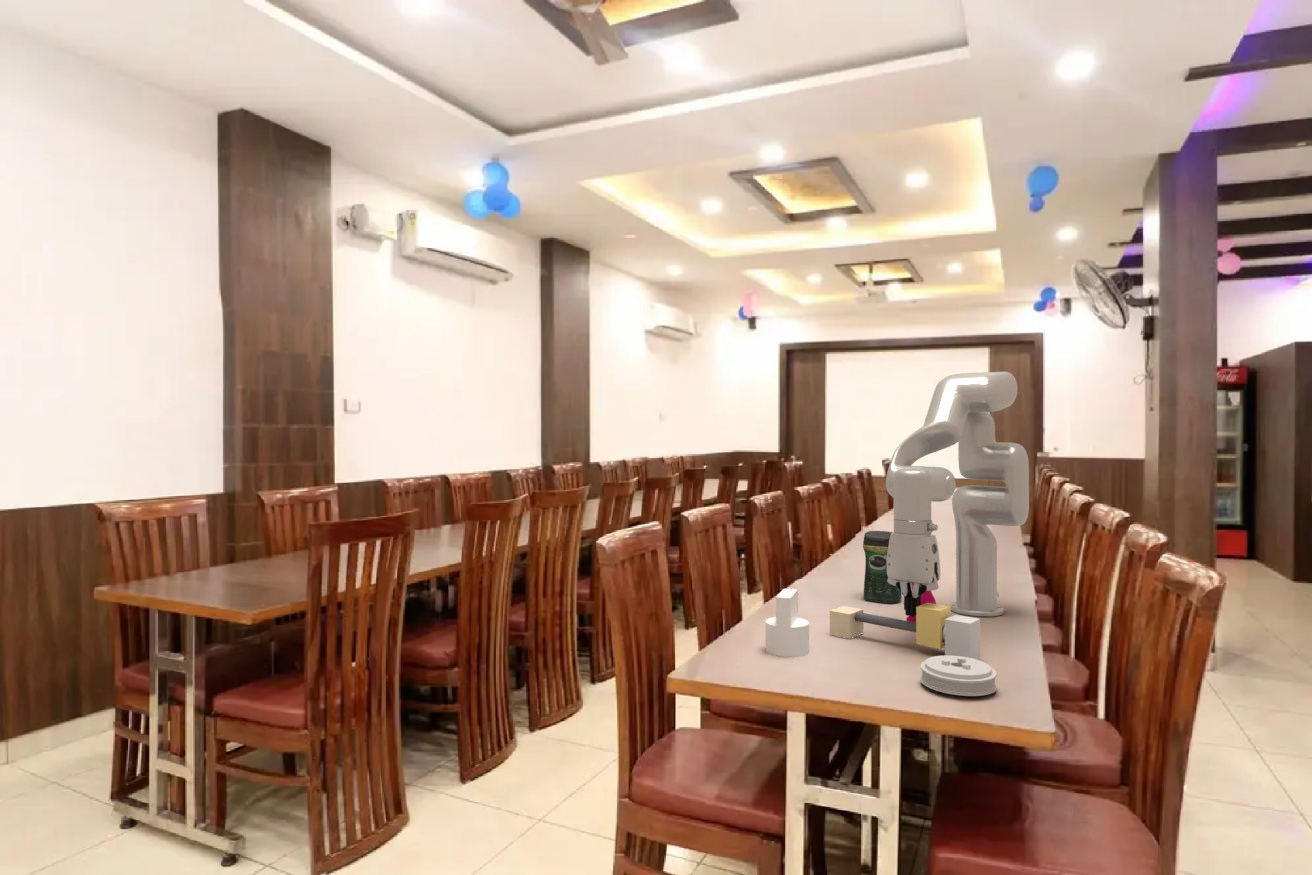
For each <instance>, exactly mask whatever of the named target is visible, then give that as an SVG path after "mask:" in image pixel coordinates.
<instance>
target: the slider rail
mask: <svg viewBox="0 0 1312 875" xmlns="http://www.w3.org/2000/svg"><path fill="white" fill-rule="evenodd" d="M864 623H865V624H871V625H875V626H881V627H885V628H889V629H890V628H891V629H897V630H902V631H905V632H906V631H907V632H911V633H916V623H915V622H909V621H907V620H903V619H898V618H893V617H887V616H882V615H876V614H870V613H865V612H864V609H862V608H859V607H858V608H857V607H852V606H845V605H842V606H839V607H837V608H833V609H830V610H829V635H830V634H831V635H830V636H832V635H835V636H834V637H837V636H839V637H838V638H841V637H845V638H844V639H846V638H849V639H848V640H851V639H850V638H852V637H854V638H857V637H858V636H857V635H859V634H861V633H863V634H864ZM856 636H857V637H856ZM859 636H860V635H859ZM942 638H943V640H944V641H945V646H944V655H949V656H962V657H968V658H973V659H976V660H980V659H981V619H980V618H979V617H978V618H977V617H971V616H967V615H965V616H964V615H959V614H954V615H952V616H951V617H949V618H947V619H945V627H944V628H942ZM852 639H853V638H852Z"/></svg>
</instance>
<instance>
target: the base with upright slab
mask: <svg viewBox="0 0 1312 875" xmlns="http://www.w3.org/2000/svg"><path fill="white" fill-rule="evenodd" d="M765 651H766V653H768V654H770V655H773V656H777V657H785V658H796V657H798V658H799V657H803V656H805V654H806V655H808V654H809V653H810V622H809V620H807V619H805V618H802V617H799V589H795V588H782V590H781V591H780V592H779V593H778V594H777V595H776V597H775V616H774V617H769V618H767V619H765Z"/></svg>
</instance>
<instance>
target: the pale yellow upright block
mask: <svg viewBox="0 0 1312 875" xmlns="http://www.w3.org/2000/svg"><path fill="white" fill-rule="evenodd" d="M951 613H952V610H951V606H950V605H944V604H938V603H936V604H932V603H925V604H923V605H920V606H918V607H916V632H915V635H916V636H915V637H916V638H915V639H916V640H915V644H917V645H920V646H925V647H930V648H936V649H939V650H940V649H942V648H945V641H944V640H943V638H942V628H944V627H945V619H947V618H949V617H951V615H952V614H951Z"/></svg>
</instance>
